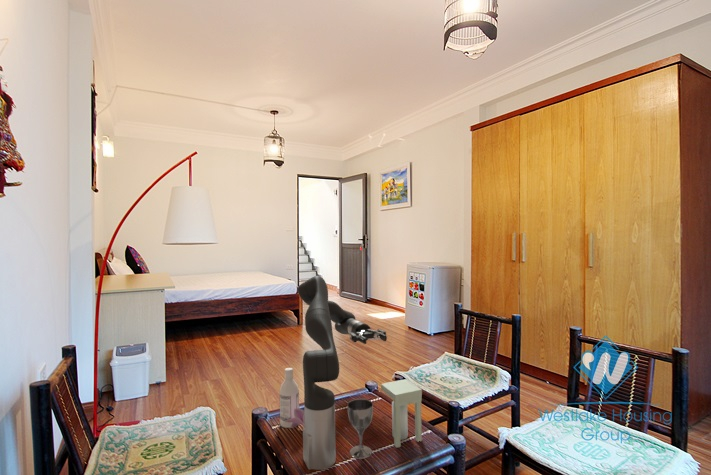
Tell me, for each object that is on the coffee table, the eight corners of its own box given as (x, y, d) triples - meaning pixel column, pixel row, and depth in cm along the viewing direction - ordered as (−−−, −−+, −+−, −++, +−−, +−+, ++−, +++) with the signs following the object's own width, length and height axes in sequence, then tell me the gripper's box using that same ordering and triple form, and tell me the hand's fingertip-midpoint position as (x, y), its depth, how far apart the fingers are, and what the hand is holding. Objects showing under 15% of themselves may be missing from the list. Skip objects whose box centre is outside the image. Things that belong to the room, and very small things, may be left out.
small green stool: (396, 448, 116) (395, 395, 116) (381, 433, 125) (381, 383, 125) (422, 441, 120) (421, 389, 120) (406, 426, 129) (406, 379, 129)
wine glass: (374, 445, 118) (373, 399, 118) (372, 460, 110) (372, 410, 110) (349, 444, 118) (349, 398, 118) (346, 459, 110) (346, 409, 111)
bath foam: (294, 417, 137) (293, 364, 137) (302, 424, 132) (301, 369, 132) (276, 422, 133) (276, 368, 133) (285, 430, 128) (284, 373, 128)
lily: (327, 431, 129) (321, 402, 133) (317, 434, 118) (311, 403, 122) (296, 440, 130) (291, 412, 134) (283, 444, 119) (278, 413, 123)
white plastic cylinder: (392, 439, 121) (391, 406, 121) (392, 431, 126) (392, 399, 126) (408, 440, 120) (407, 406, 120) (407, 431, 125) (407, 400, 125)
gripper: (343, 323, 152) (358, 332, 137) (373, 320, 158) (391, 328, 143) (343, 341, 152) (359, 352, 137) (374, 337, 157) (392, 347, 143)
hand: (375, 339), depth 140 cm, fingers open, 8 cm apart
